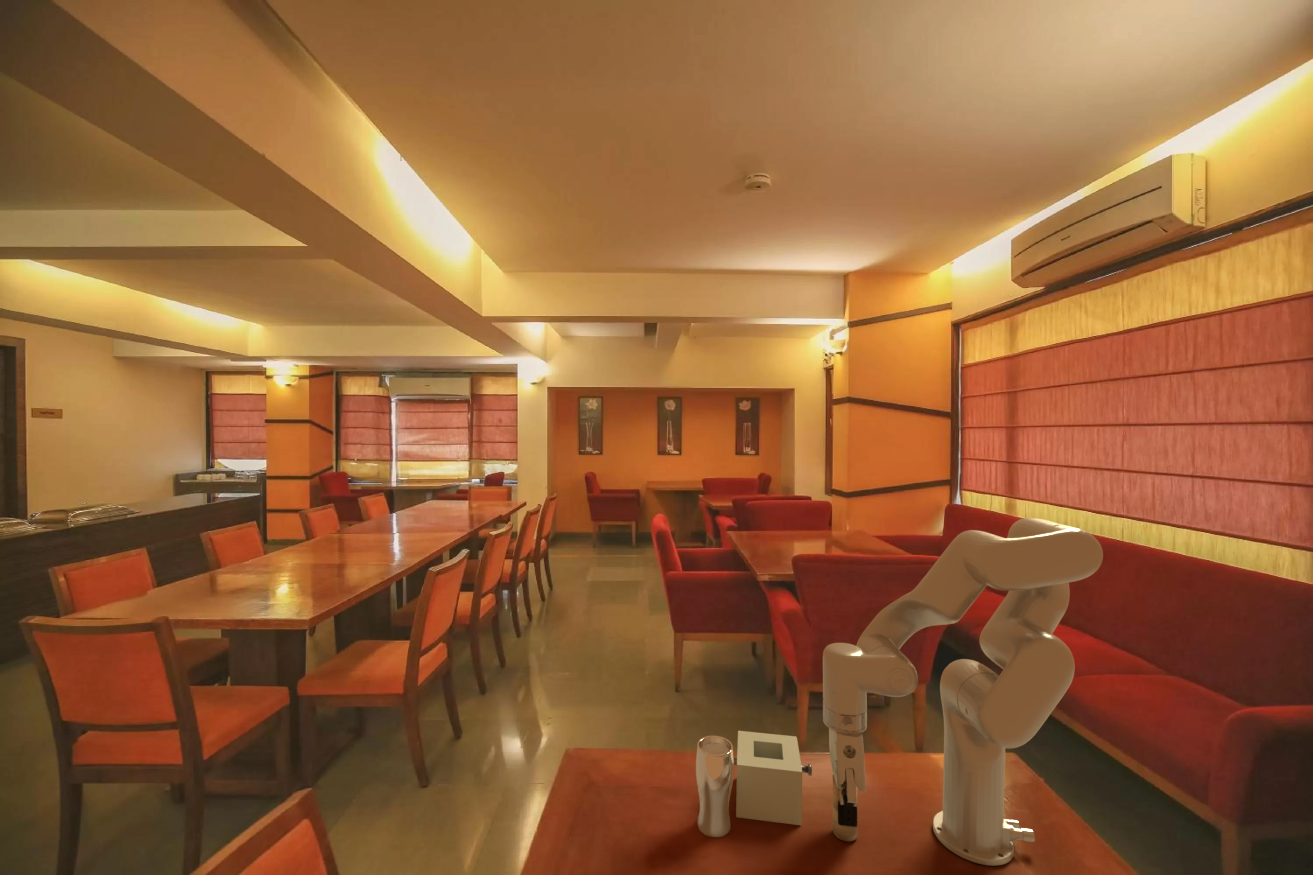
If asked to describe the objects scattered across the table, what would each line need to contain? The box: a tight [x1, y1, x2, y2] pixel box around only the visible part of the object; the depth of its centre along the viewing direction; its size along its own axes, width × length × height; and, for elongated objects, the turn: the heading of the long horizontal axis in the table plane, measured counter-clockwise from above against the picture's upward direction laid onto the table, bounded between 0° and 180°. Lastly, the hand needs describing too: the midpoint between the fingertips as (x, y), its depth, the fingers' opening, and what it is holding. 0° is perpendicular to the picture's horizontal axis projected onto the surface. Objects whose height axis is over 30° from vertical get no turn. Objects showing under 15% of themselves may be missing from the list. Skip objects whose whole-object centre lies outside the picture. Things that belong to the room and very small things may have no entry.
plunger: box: [801, 763, 813, 777], centre depth 108 cm, size 6×2×2 cm, turn 80°
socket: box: [735, 730, 803, 826], centre depth 109 cm, size 12×12×10 cm
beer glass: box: [695, 735, 735, 838], centre depth 101 cm, size 7×7×15 cm
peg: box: [832, 773, 858, 842], centre depth 100 cm, size 4×4×10 cm
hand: (845, 814), depth 100 cm, fingers closed on peg, 4 cm apart
